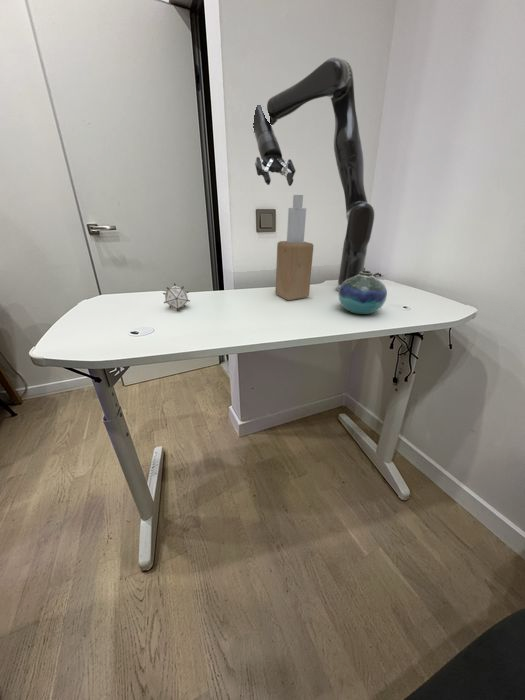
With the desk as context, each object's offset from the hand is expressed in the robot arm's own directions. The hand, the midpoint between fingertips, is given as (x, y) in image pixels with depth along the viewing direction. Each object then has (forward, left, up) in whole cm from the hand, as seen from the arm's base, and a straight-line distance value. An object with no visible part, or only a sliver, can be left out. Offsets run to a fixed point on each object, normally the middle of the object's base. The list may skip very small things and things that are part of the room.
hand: (280, 183), depth 104 cm
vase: (-10, +36, -39) cm, 54 cm away
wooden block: (0, +11, -39) cm, 40 cm away
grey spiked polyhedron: (+43, +4, -39) cm, 58 cm away
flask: (0, +11, -19) cm, 21 cm away
